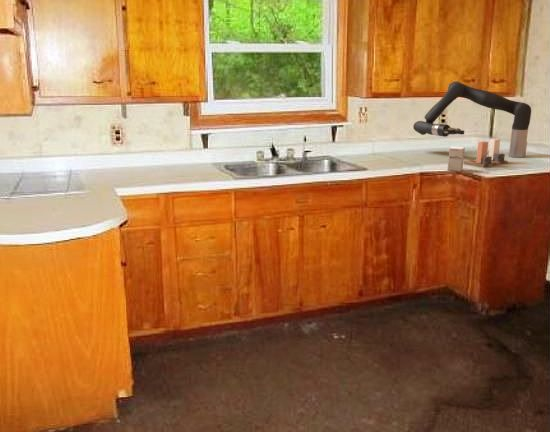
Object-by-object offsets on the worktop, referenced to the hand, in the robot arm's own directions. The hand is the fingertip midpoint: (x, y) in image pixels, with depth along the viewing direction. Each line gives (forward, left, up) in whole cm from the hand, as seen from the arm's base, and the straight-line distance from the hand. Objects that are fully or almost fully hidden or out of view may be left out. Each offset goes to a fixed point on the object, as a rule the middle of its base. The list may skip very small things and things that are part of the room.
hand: (463, 132), depth 319 cm
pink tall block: (+2, +16, -15) cm, 23 cm away
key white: (-12, +14, -15) cm, 24 cm away
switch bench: (-5, +14, -17) cm, 23 cm away
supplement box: (+24, +17, -17) cm, 34 cm away
